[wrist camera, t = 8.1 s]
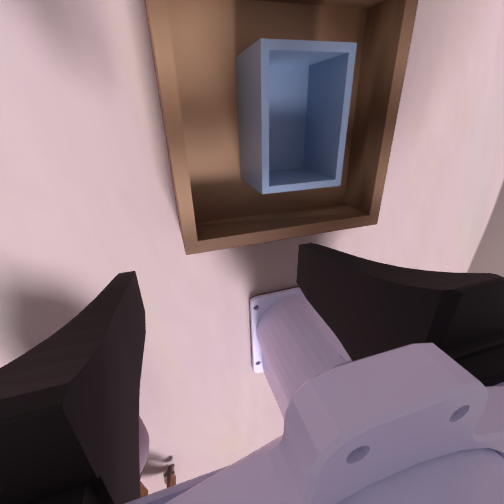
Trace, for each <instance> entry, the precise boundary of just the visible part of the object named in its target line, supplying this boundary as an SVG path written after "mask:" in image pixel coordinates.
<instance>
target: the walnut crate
mask: <svg viewBox="0 0 504 504" xmlns="http://www.w3.org/2000/svg"><path fill="white" fill-rule="evenodd" d="M144 1H145V7H146V14H147V20H148V26H149V33H150V39H151V45H152V52H153V58H154V65H155V71H156V77H157V84H158V90H159V96H160V103H161V109H162V115H163V122H164V128H165V134H166V141H167V147H168V153H169V160H170V166H171V173H172V179H173V185H174V192H175V198H176V204H177V211H178V217H179V223H180V230H181V235H182V239H183V243H184V248H185V252H186V255H189V254H195V253H202V252H208V251H214V250H220V249H226V248H232V247H239V246H245V245H251V244H257V243H263V242H269V241H276V240H282V239H288V238H294V237H300V236H306V235H313V234H319V233H325V232H331V231H337V230H343V229H350V228H356V227H362V226H368V225H374V224H377V222H378V216H379V211H380V205H381V200H382V194H383V189H384V184H385V178H386V173H387V167H388V162H389V157H390V151H391V146H392V140H393V135H394V130H395V124H396V119H397V113H398V108H399V102H400V97H401V92H402V86H403V81H404V75H405V70H406V65H407V59H408V54H409V48H410V43H411V37H412V32H413V27H414V21H415V16H416V10H417V5H418V0H144ZM261 38H263V39H286V40H308V41H330V42H353V43H357V48H356V56H355V65H354V74H353V82H352V91H351V99H350V108H349V116H348V125H347V134H346V142H345V151H344V159H343V168H342V176H341V185H340V186H333V187H324V188H315V189H306V190H297V191H287V192H278V193H269V194H261V193H260V192H258V191H257V190H256V189H254V188H253V187H252V186H250V185H249V184H247V183H246V182H245V181H243V180H242V179H241V174H240V152H239V129H238V107H237V84H236V61H235V57H236V56H237V55H239V54H240V53H242V52H243V51H244V50H246V49H247V48H248V47H250V46H251V45H252V44H254V43H255V42H257V41H258V40H259V39H261Z"/></svg>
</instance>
